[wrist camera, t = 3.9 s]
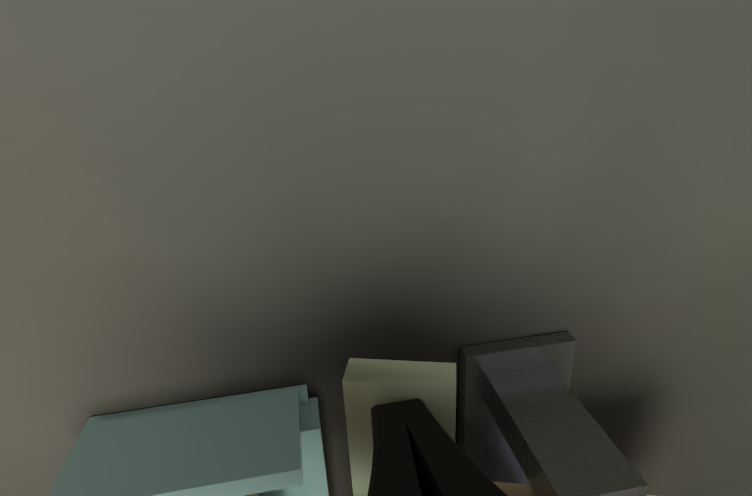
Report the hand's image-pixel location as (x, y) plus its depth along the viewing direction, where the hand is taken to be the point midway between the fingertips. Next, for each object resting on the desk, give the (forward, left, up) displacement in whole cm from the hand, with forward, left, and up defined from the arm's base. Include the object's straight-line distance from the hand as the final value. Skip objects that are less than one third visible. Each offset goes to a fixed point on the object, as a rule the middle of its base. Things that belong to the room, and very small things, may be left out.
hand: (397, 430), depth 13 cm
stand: (-6, -5, -4) cm, 8 cm away
